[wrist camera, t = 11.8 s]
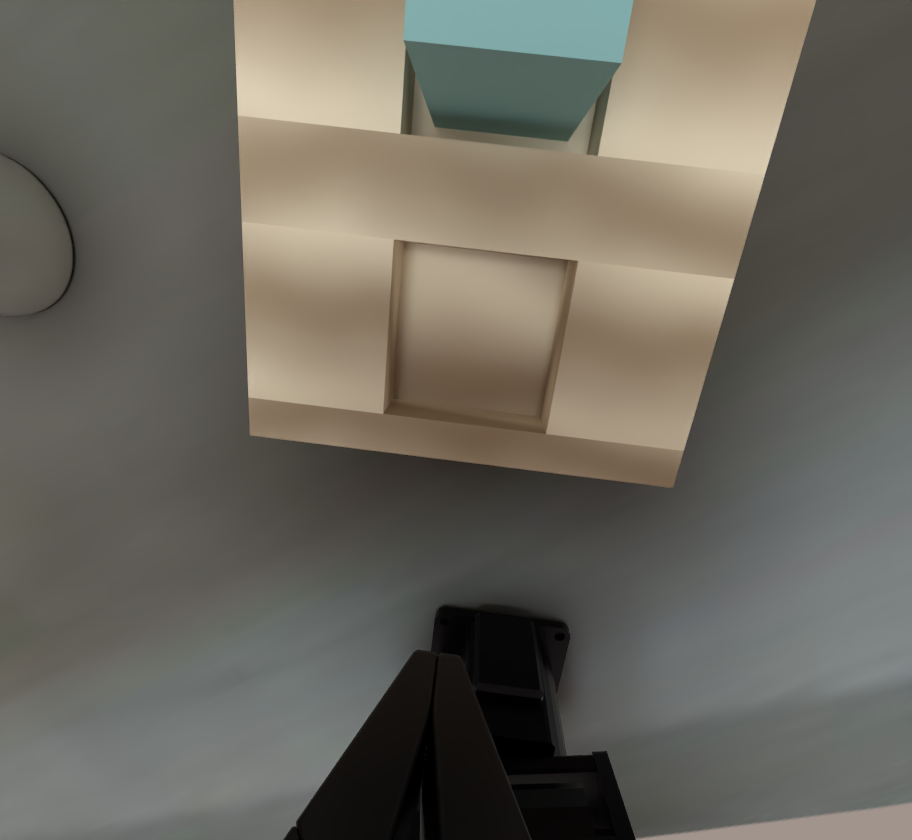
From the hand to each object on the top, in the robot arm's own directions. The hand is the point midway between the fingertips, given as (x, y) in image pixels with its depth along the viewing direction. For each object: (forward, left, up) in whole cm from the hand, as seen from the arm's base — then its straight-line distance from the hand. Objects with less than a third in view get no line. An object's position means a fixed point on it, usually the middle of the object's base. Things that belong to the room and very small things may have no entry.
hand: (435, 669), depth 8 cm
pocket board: (+9, 0, -12) cm, 15 cm away
